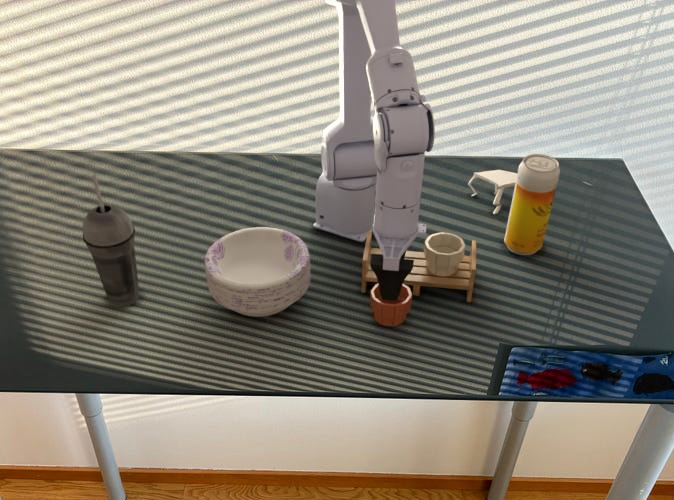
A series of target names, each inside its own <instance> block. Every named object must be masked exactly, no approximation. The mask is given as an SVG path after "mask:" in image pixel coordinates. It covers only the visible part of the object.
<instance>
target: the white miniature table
mask: <svg viewBox="0 0 674 500" xmlns="http://www.w3.org/2000/svg"><path fill="white" fill-rule="evenodd" d="M517 173H518V172H517ZM517 173H516V172H513V171H507V170H502V169H495V170H485V171H478V172H477V171H476V172H473V175H472V177H471V178H470V179H469V181H468V183H467V186H468V187H469V188H470V189H471V191H472V192H473V194H471V197H475V196H476V195H478V192H477V191H476V189H475V187H473V185H472V184H473V183H474V182H475V181H476V180H478V179H480V180H482V181H484V182H487V183H490V184H492V185H494V192H493V195H495V197H494V200H493V203H492V204H493V205H494V206H496V208H495V209H494V210H493V212H492V214H493V215H496V214H498V213H499V211H500V210H501V208H502V204H501V203H500V201H501V199H502V196H503V192H504V189H506V188H512V187H515V183H516V178H517Z"/></svg>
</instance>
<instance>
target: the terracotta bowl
mask: <svg viewBox="0 0 674 500" xmlns="http://www.w3.org/2000/svg"><path fill="white" fill-rule="evenodd" d="M369 294H370V295H369V304H370V308H371V311H372V315H373V319H374V321H376V322H377V323H378V324H379V325H381V326H383V327H391V328H392V327H397V326H399V325H402V324H403V323H404V322H405V320H406V319H407V317H408V313H409V312H410V310H411V309H412V302H413V295H412V294H413V292H412V291H411V288H410V286H409V285H405V284H403V285H402V288H401V291H400V294H399V297H398V299H397V300H396V301H393V300H383V299H382V297H381V294H380V289H379V283H378V282H376V283H375V285H374V286H373V287H372V288H371V289H370V293H369Z"/></svg>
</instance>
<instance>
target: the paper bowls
mask: <svg viewBox="0 0 674 500" xmlns="http://www.w3.org/2000/svg"><path fill="white" fill-rule="evenodd" d="M203 264H204V271H205V277H206V283H207V287H208V291H209V294H210V295H211V297H212V299H214V302H216V303H217V304H219V305H220V306H222V307H224V308H225V309H228V310H231V311H233V312H236V313H239V314H240V315H244V316H246V317H253V318H254V317H255V318H260V317H261V318H262V317H269V316H272V315H276V314H279V313H281V312H282V311H284V310H286V309H287V308H289V306H291V305H292V304H294V303H296V302H297V301H298V300H299V299H301V298H302V297H303V296H304V295H305V293H306V292H307V291H308V289H309V287H310V284H311V255H310V252H309V248H308V246H307V244H306V243H305V242H304V241H303V239H301V238H300V237H299V236H297V235H296V234H294V233H292V232H290V231H289V230H284V229H282V228H278V227H277V228H275V227H267V226H255V227H247V228H242V229H241V228H240V229H238V230H235V231H232V232H230V233H227V234H226V235H223V236H222V237H220V238H219V239H217V240H215V242H213V244H211V246H209V248H208V249H207V251H206V253H205V256H204V260H203Z"/></svg>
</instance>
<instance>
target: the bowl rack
mask: <svg viewBox="0 0 674 500" xmlns="http://www.w3.org/2000/svg"><path fill="white" fill-rule="evenodd" d="M372 236H373V232H368V234H367V239H366V240H365V246H364V251H363V256H362V263H361V264H362V266H361V269H362V270H361V271H362V272H361V288H360V289H361V291H360V292H361V293H362V294H363V293H364V294H365V293H366V290H367V286H368V285H367V284H368V282H371V283H378V280H377V277H376V275H375V273H374V272H373V270H372V269H371V266H370V258H371V254H382V251H381V249H380V248H378V247H377V248H375V247H372V240H373V239H372V238H373V237H372ZM404 259H410V260H414V265H413V269H412V271H411V272H410V273H409V274H408V276H407V277H406V278H405V280H404V282H403V284H404V285H406V286H412V296H417V297H418V296H420V293H421V292H420V290H421V287H427V288H428V287H429V288H441V289H451V290H452V289H453V290H461V291H462V290H464V291H466V303H472V298H473V291H474V286H475V285H474V284H475V280H476V279H475V278H476V273H477V240H476V239H472V240H471V245H470V252H469V255H464V258H463V260H462V261H461V262H460V264H459V268H458V270H457V271H456V273H454V274H452V275H450V276H446V277H441V276H436V275H434V274H432V273H431V272H430V271H429V270H428V269H427V266H426V259H425V256H424V251H412V250H406V253H405V257H404Z"/></svg>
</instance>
